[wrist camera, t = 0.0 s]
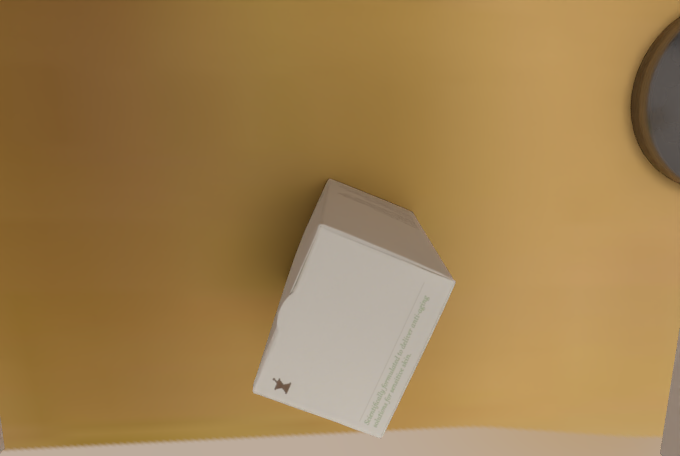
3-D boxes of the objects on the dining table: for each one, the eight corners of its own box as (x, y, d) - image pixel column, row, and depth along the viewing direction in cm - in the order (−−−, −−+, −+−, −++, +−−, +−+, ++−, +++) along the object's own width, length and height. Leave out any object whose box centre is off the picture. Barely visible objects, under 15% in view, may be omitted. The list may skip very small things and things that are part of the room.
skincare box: (366, 316, 41) (383, 452, 26) (278, 281, 40) (241, 399, 25) (417, 207, 39) (466, 284, 24) (325, 169, 38) (316, 223, 23)
